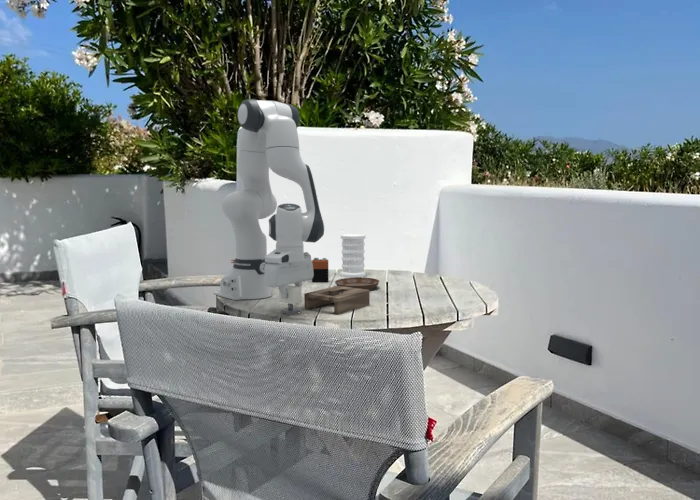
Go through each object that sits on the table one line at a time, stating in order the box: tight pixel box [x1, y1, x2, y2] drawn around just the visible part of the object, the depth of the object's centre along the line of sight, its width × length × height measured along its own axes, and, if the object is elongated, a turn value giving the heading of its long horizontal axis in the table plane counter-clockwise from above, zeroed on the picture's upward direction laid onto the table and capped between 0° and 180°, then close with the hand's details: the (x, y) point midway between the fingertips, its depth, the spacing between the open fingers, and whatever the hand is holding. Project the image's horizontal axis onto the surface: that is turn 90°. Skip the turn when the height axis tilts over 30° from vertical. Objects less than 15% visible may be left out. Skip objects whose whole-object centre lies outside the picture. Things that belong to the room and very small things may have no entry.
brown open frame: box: [303, 285, 371, 315], centre depth 208 cm, size 14×18×5 cm
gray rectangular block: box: [278, 284, 303, 315], centre depth 199 cm, size 6×4×8 cm
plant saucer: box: [334, 277, 380, 291], centre depth 243 cm, size 18×18×3 cm
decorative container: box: [339, 233, 367, 278], centre depth 273 cm, size 12×12×18 cm
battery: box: [311, 257, 329, 283], centre depth 257 cm, size 4×7×10 cm, turn 90°
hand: (290, 297), depth 199 cm, fingers closed on gray rectangular block, 4 cm apart
